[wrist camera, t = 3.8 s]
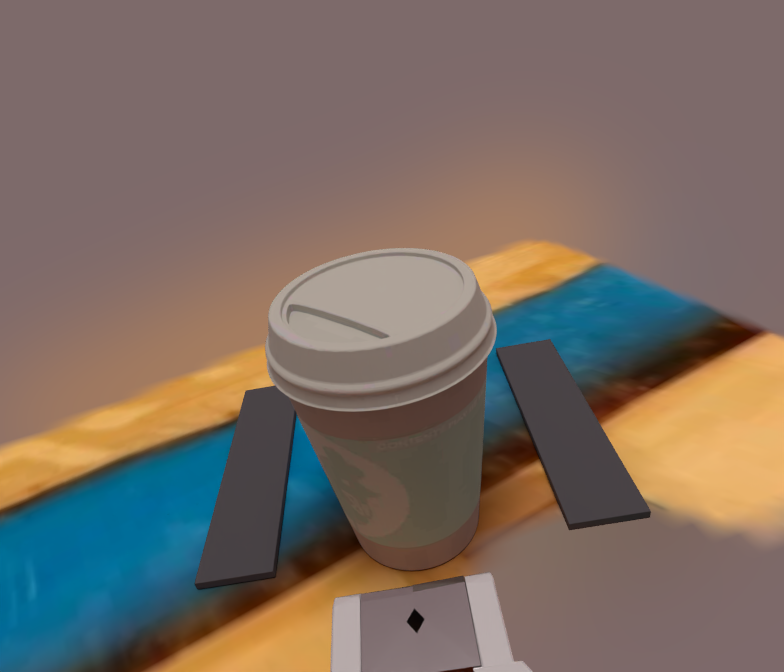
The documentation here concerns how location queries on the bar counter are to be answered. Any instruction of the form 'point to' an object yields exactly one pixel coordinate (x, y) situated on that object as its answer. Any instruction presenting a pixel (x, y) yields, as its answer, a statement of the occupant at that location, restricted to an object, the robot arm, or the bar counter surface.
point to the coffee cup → (391, 394)
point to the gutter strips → (540, 413)
